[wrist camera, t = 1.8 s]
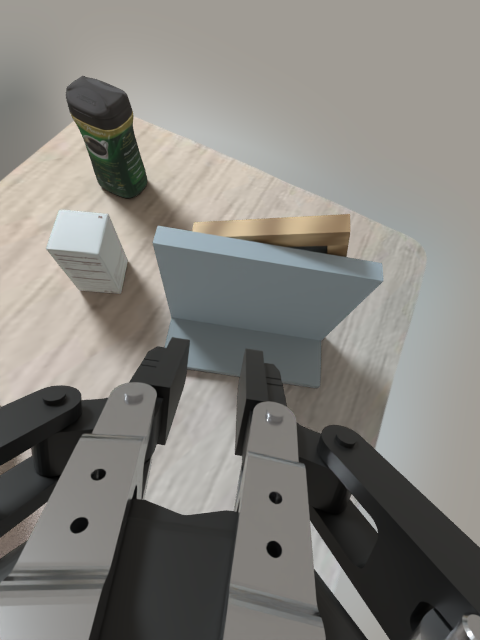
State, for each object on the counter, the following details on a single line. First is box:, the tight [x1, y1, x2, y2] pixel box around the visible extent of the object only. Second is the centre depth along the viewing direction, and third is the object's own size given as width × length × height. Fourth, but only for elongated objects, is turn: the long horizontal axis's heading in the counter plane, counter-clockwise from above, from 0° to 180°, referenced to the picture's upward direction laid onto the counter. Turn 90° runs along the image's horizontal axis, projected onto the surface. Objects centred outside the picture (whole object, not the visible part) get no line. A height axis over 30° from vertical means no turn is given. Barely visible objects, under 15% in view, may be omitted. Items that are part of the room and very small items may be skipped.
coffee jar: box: [66, 76, 147, 198], centre depth 56 cm, size 10×8×19 cm
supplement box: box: [46, 210, 128, 294], centre depth 50 cm, size 7×7×13 cm
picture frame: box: [192, 214, 350, 257], centre depth 42 cm, size 18×2×15 cm, turn 83°
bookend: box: [153, 226, 383, 388], centre depth 43 cm, size 26×10×22 cm, turn 83°
